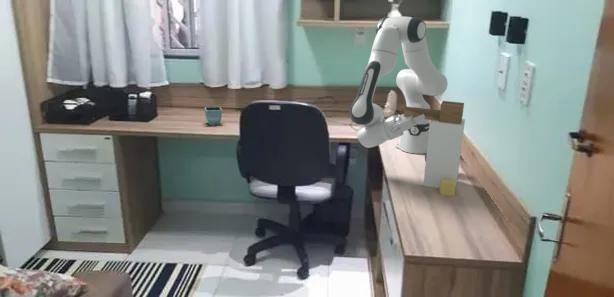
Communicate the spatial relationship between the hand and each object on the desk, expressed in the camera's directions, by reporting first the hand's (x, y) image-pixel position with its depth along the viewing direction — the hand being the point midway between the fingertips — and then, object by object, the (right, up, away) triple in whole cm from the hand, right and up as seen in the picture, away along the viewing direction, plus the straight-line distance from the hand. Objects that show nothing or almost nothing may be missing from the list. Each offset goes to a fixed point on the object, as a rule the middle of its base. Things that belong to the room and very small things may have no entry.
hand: (426, 113), depth 197 cm
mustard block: (+7, -31, -5) cm, 32 cm away
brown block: (+2, -2, 0) cm, 3 cm away
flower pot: (-100, 0, +84) cm, 130 cm away
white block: (+7, -28, +5) cm, 29 cm away
